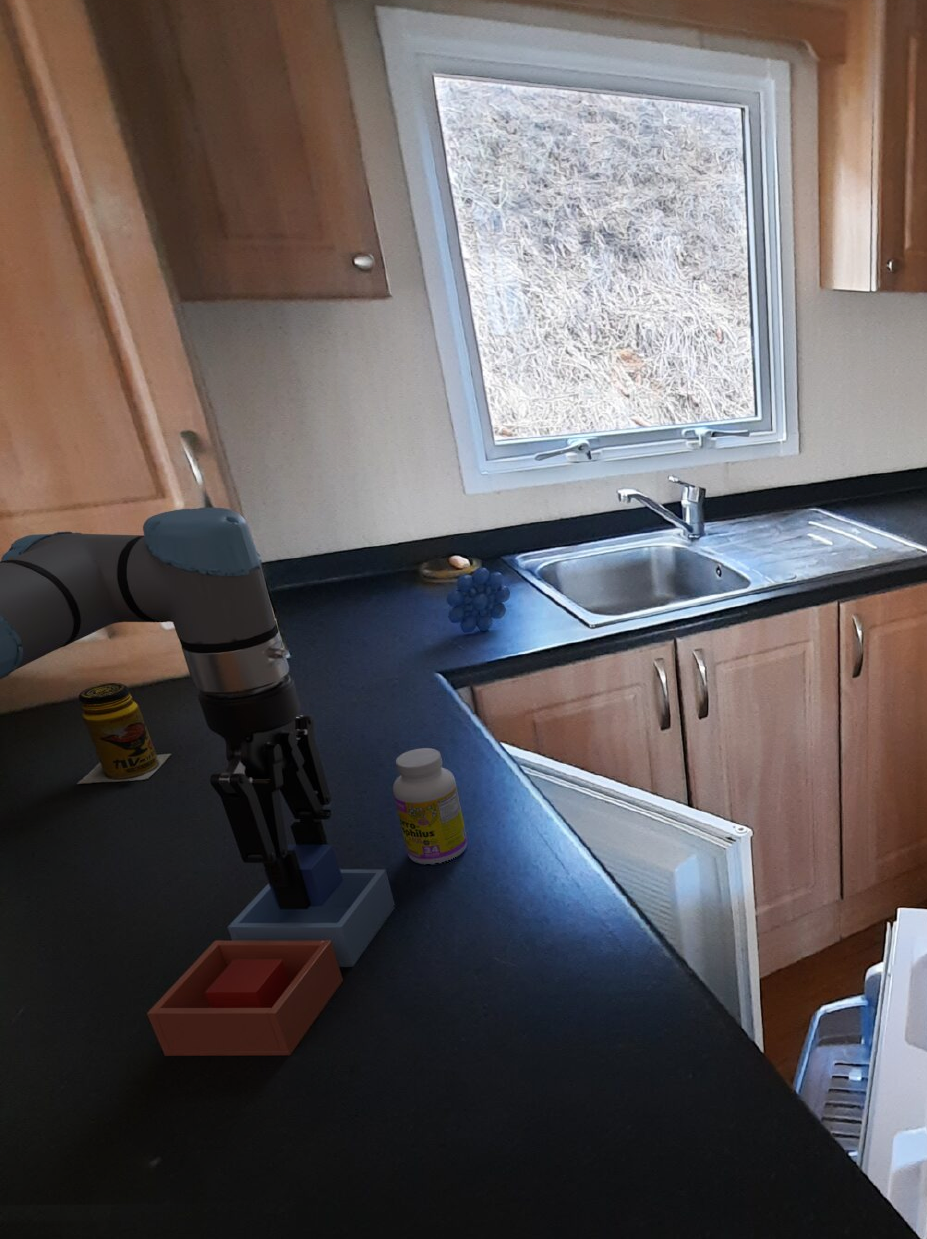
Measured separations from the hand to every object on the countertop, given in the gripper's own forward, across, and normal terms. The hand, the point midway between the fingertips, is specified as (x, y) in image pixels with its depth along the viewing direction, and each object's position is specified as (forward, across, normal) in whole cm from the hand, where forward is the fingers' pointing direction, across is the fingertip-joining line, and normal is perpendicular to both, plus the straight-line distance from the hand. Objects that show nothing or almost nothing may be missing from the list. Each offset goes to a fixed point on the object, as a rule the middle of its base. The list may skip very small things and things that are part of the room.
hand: (308, 891), depth 99 cm
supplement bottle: (+6, +16, -6) cm, 18 cm away
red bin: (+6, -12, 0) cm, 13 cm away
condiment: (+6, +36, +44) cm, 57 cm away
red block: (+5, -12, 0) cm, 13 cm away
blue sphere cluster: (+6, +92, +15) cm, 93 cm away
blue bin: (+6, 0, 0) cm, 6 cm away
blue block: (0, 0, 0) cm, 0 cm away
